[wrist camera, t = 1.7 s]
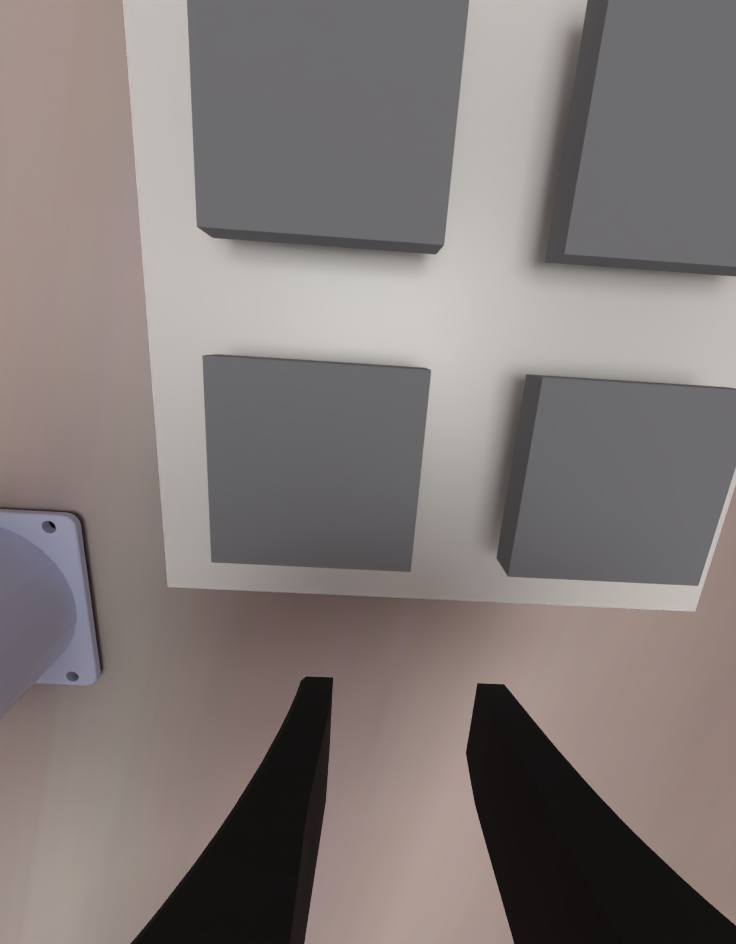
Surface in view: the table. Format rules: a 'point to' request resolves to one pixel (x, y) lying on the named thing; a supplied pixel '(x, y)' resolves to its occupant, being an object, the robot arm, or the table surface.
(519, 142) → the button board
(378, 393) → the button
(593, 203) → the button
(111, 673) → the table surface
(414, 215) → the button
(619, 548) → the button
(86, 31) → the table surface
